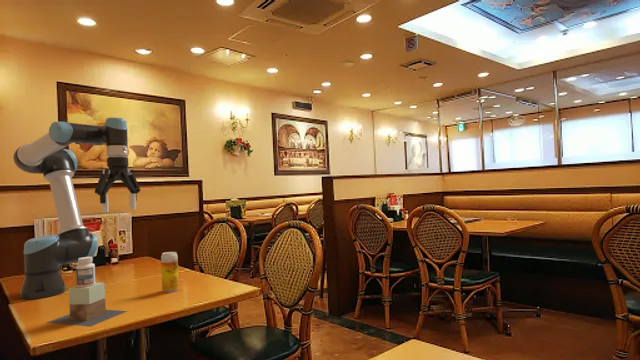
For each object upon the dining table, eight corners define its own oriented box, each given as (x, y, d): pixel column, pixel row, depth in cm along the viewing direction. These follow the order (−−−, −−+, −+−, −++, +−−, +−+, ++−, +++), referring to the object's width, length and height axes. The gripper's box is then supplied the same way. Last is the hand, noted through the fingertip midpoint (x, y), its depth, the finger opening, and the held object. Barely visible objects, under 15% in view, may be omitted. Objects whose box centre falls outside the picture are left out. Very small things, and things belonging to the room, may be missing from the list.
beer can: (173, 292, 151) (171, 254, 151) (159, 292, 152) (157, 254, 152) (181, 288, 157) (180, 251, 157) (168, 288, 158) (166, 251, 158)
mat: (46, 323, 121) (46, 322, 121) (86, 309, 134) (86, 308, 134) (90, 327, 115) (90, 326, 115) (127, 312, 128) (127, 311, 128)
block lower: (69, 319, 122) (69, 303, 122) (89, 312, 129) (88, 297, 129) (86, 321, 120) (86, 304, 120) (105, 313, 127) (105, 298, 127)
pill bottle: (82, 283, 127) (81, 256, 127) (98, 282, 128) (97, 255, 128) (73, 288, 122) (72, 259, 122) (90, 286, 122) (89, 258, 123)
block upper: (69, 304, 122) (68, 288, 122) (85, 297, 129) (85, 282, 129) (89, 304, 121) (88, 288, 121) (105, 297, 128) (104, 282, 128)
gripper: (97, 154, 141) (100, 213, 141) (148, 158, 165) (150, 208, 164) (82, 155, 143) (84, 213, 143) (134, 159, 167) (136, 208, 167)
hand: (119, 210), depth 154 cm, fingers open, 13 cm apart
